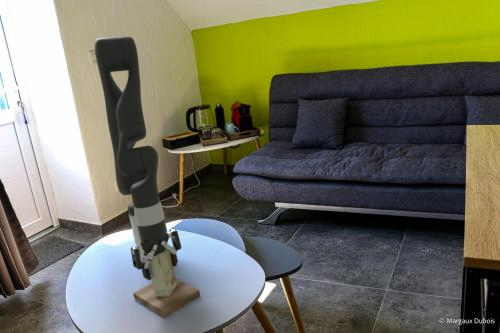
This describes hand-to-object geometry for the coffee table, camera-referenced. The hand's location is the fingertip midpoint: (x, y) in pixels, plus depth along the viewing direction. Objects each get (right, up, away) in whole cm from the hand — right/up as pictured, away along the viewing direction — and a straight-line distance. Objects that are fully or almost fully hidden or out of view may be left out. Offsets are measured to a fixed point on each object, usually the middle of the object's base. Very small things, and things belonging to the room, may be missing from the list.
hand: (161, 272), depth 121 cm
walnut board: (+1, -8, +2) cm, 8 cm away
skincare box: (+1, -6, +2) cm, 6 cm away
